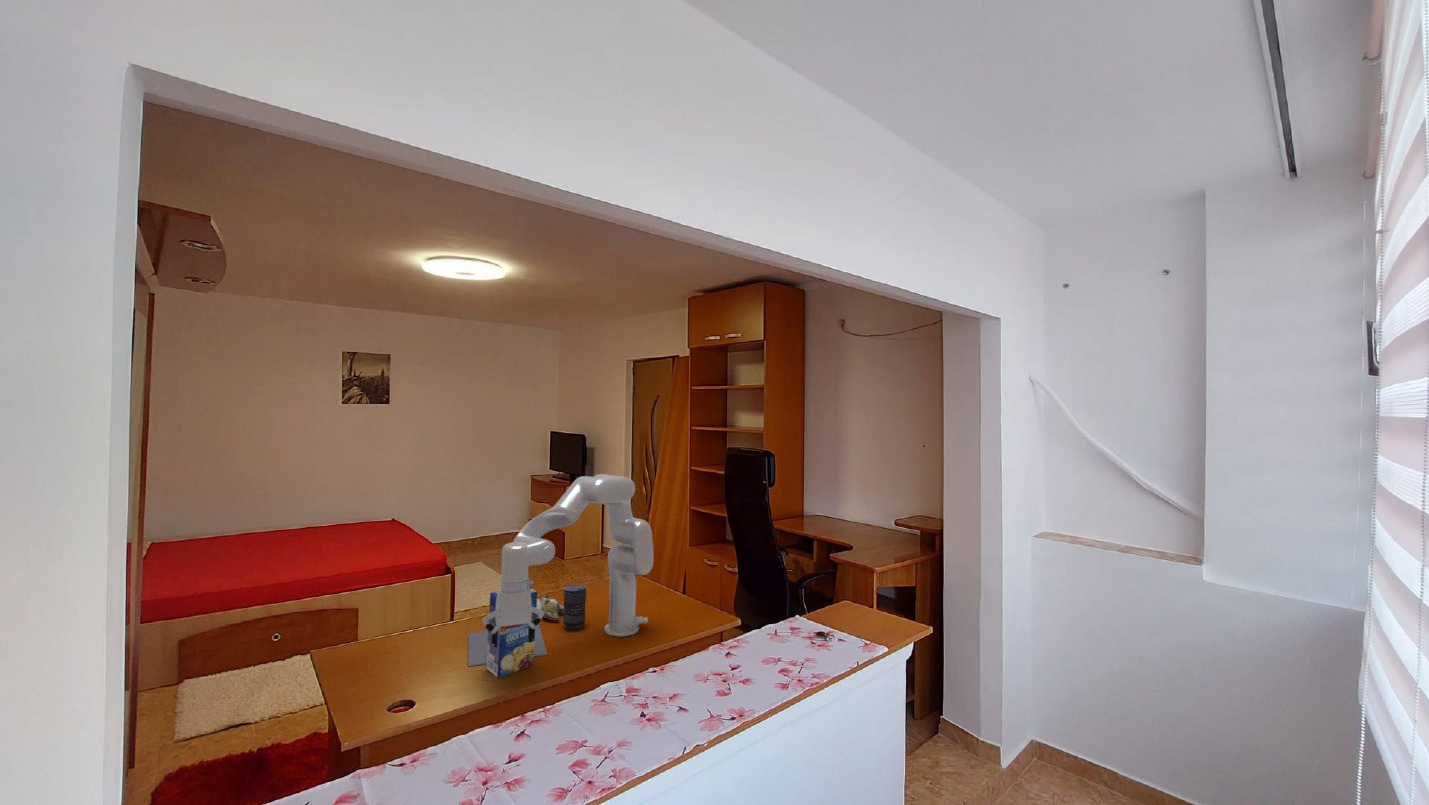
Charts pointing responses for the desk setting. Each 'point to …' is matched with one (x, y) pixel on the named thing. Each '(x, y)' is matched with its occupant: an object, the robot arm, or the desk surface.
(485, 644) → the mat
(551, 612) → the ceramic sculpture
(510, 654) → the juice carton
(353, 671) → the desk surface
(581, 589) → the camera lens
